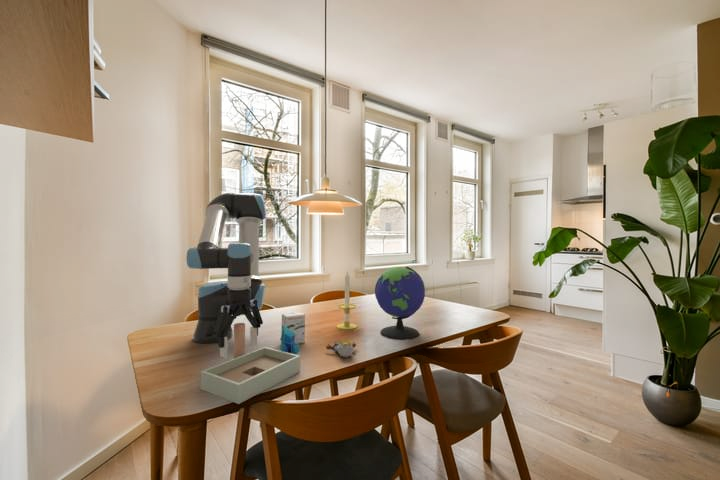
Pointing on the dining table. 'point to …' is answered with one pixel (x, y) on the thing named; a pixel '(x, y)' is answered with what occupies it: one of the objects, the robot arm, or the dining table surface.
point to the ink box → (295, 325)
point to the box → (249, 374)
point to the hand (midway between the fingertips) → (239, 350)
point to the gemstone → (288, 341)
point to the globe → (400, 299)
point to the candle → (346, 308)
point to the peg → (239, 339)
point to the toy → (342, 348)
